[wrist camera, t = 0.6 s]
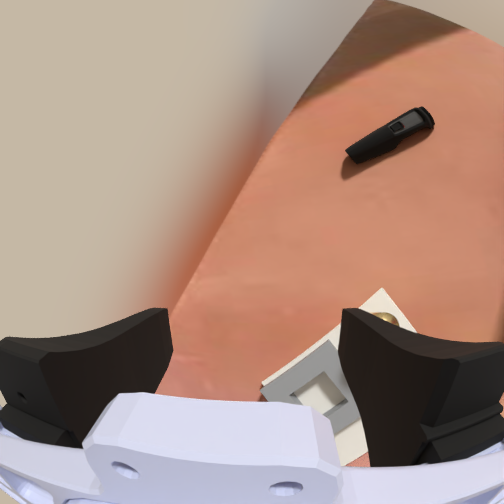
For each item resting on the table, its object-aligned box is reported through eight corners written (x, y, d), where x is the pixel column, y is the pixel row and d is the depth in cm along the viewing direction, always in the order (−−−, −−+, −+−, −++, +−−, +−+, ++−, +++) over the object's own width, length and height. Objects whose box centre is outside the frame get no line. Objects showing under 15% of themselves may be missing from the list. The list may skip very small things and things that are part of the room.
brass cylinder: (390, 327, 28) (406, 331, 21) (369, 345, 28) (379, 354, 21) (374, 306, 29) (386, 305, 22) (353, 324, 29) (359, 328, 22)
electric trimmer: (338, 153, 35) (338, 140, 32) (418, 110, 32) (422, 97, 30) (354, 174, 34) (355, 163, 31) (435, 128, 31) (440, 116, 28)
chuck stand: (449, 381, 25) (459, 387, 22) (335, 467, 26) (335, 479, 23) (380, 288, 30) (385, 285, 27) (263, 380, 31) (256, 386, 28)
